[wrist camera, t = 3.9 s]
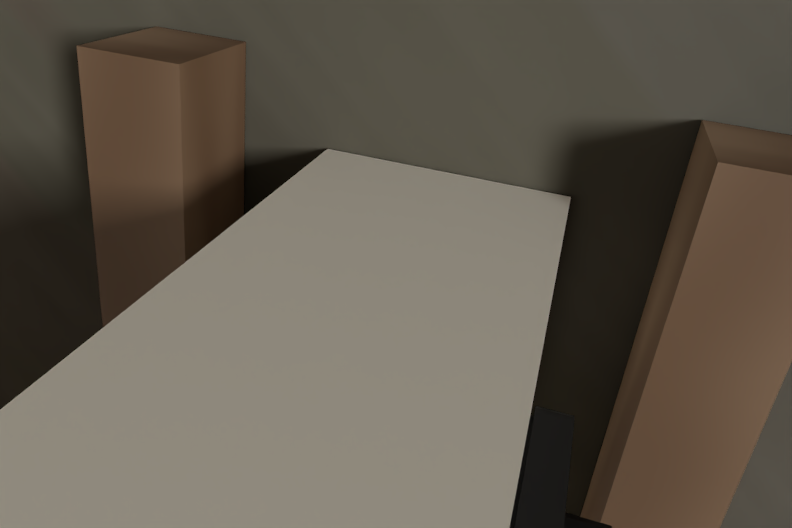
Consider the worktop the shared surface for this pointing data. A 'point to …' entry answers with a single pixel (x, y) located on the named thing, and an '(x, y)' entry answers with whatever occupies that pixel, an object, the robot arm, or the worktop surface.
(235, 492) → the cream blank
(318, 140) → the worktop surface
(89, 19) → the worktop surface
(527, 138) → the worktop surface
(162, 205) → the walnut slot rack
